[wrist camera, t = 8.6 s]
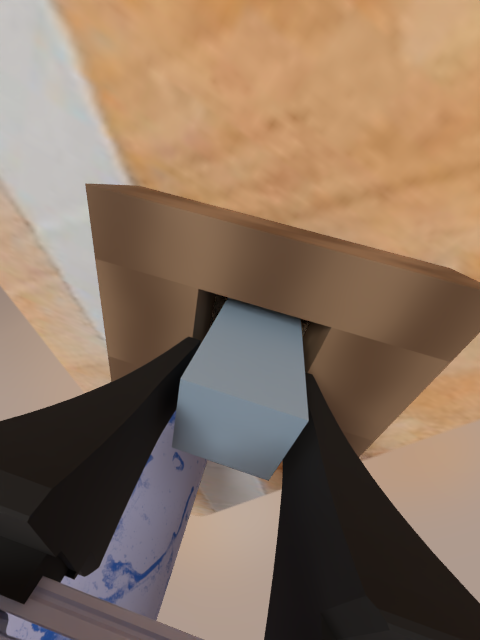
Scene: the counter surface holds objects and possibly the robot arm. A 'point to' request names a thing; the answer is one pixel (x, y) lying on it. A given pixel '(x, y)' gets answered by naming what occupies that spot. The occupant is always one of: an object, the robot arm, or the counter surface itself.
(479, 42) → the counter surface
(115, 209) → the walnut socket holder
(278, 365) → the slate peg
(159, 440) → the aerosol can
